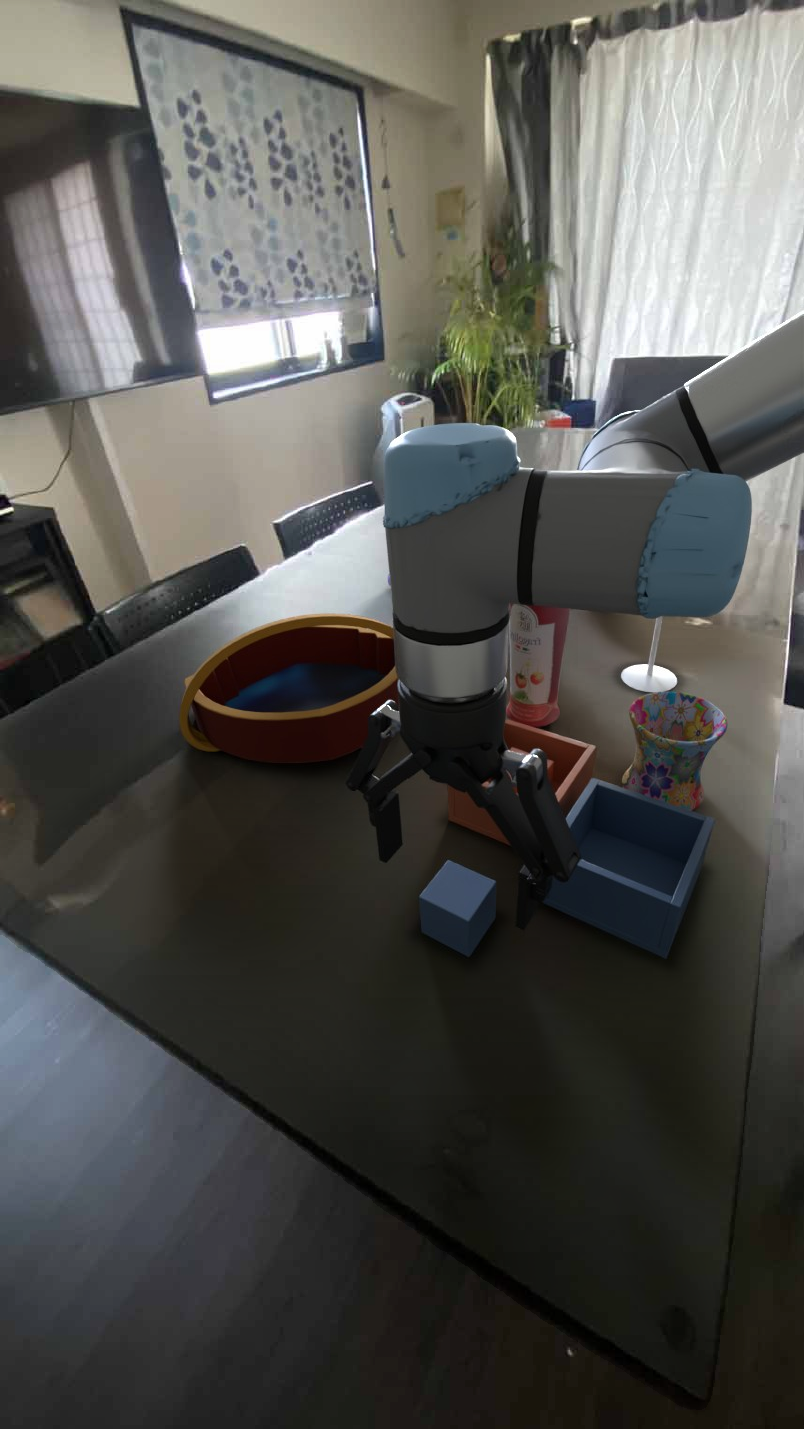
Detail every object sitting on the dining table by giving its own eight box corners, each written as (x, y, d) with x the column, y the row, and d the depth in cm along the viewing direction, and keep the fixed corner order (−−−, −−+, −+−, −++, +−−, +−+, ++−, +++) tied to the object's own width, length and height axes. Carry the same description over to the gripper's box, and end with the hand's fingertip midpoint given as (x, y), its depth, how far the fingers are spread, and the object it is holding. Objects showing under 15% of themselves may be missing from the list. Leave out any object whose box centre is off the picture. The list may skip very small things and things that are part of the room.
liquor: (571, 716, 84) (593, 502, 68) (539, 742, 80) (554, 521, 64) (525, 697, 89) (536, 492, 73) (493, 721, 85) (496, 509, 69)
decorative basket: (413, 664, 103) (402, 571, 96) (465, 747, 77) (455, 629, 70) (199, 703, 98) (172, 610, 92) (178, 806, 72) (138, 686, 66)
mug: (708, 829, 66) (732, 749, 60) (615, 815, 69) (628, 736, 63) (701, 758, 76) (721, 682, 69) (619, 748, 78) (631, 674, 72)
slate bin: (700, 869, 62) (715, 818, 58) (666, 959, 55) (680, 907, 51) (585, 826, 68) (592, 777, 64) (539, 901, 60) (544, 851, 56)
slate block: (495, 917, 59) (496, 881, 56) (469, 958, 56) (468, 921, 53) (449, 895, 62) (448, 859, 59) (421, 932, 58) (418, 896, 56)
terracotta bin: (590, 794, 72) (596, 746, 68) (547, 861, 64) (552, 812, 60) (497, 762, 78) (498, 716, 74) (448, 820, 70) (446, 772, 66)
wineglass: (689, 674, 91) (720, 536, 79) (661, 700, 86) (690, 558, 74) (637, 657, 95) (658, 524, 84) (607, 681, 90) (626, 544, 79)
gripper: (655, 697, 40) (610, 915, 52) (343, 614, 52) (366, 806, 64) (613, 764, 35) (575, 987, 47) (279, 655, 47) (318, 854, 59)
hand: (454, 883), depth 56 cm, fingers open, 13 cm apart
